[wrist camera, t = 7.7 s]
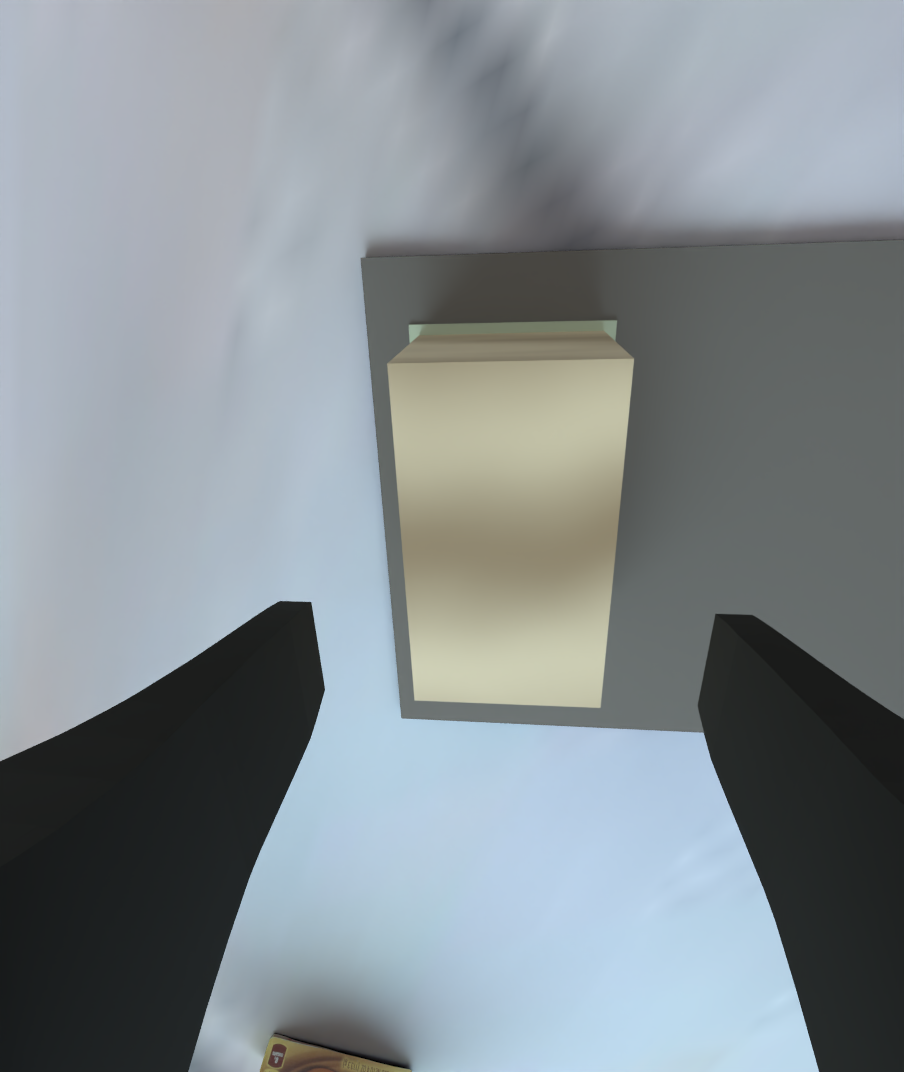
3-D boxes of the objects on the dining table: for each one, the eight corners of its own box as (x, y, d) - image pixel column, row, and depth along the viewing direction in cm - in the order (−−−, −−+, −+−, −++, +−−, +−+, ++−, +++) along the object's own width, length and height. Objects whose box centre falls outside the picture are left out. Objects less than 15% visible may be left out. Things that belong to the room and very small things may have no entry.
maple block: (583, 614, 20) (600, 707, 16) (434, 610, 20) (414, 700, 16) (603, 330, 16) (634, 358, 12) (419, 335, 16) (387, 363, 12)
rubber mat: (1189, 230, 14) (1212, 229, 14) (957, 736, 21) (967, 746, 20) (364, 257, 16) (359, 257, 16) (403, 711, 23) (401, 719, 22)
